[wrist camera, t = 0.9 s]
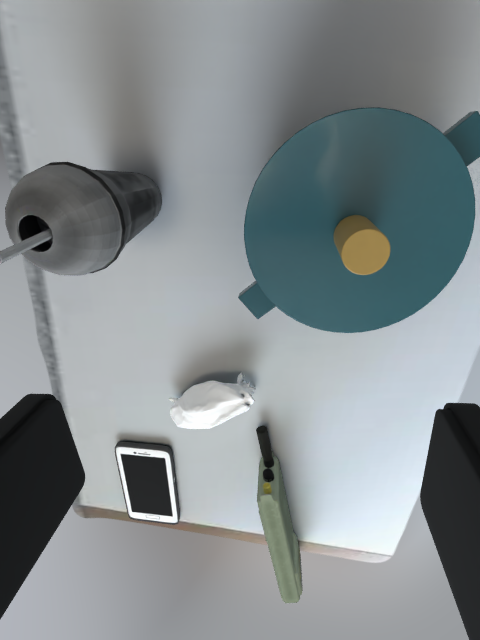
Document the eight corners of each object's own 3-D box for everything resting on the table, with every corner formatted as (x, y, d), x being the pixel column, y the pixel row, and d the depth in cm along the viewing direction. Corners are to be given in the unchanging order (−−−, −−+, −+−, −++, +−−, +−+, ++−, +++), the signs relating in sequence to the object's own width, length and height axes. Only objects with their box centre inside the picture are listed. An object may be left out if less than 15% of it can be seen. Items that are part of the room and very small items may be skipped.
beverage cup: (99, 151, 33) (-129, 158, 15) (177, 162, 33) (36, 181, 15) (103, 231, 36) (-81, 314, 18) (174, 242, 36) (55, 338, 18)
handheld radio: (278, 553, 54) (247, 422, 44) (300, 552, 54) (274, 419, 44) (278, 603, 48) (243, 465, 38) (303, 603, 48) (274, 463, 38)
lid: (204, 218, 26) (182, 235, 21) (386, 47, 21) (417, 14, 15) (326, 358, 30) (333, 402, 24) (509, 245, 24) (567, 271, 19)
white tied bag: (227, 350, 42) (161, 400, 43) (237, 385, 36) (161, 441, 37) (252, 376, 44) (188, 423, 45) (265, 413, 38) (192, 465, 39)
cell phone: (131, 513, 55) (128, 519, 54) (116, 439, 48) (112, 444, 47) (181, 519, 54) (179, 526, 53) (172, 444, 47) (170, 450, 46)
